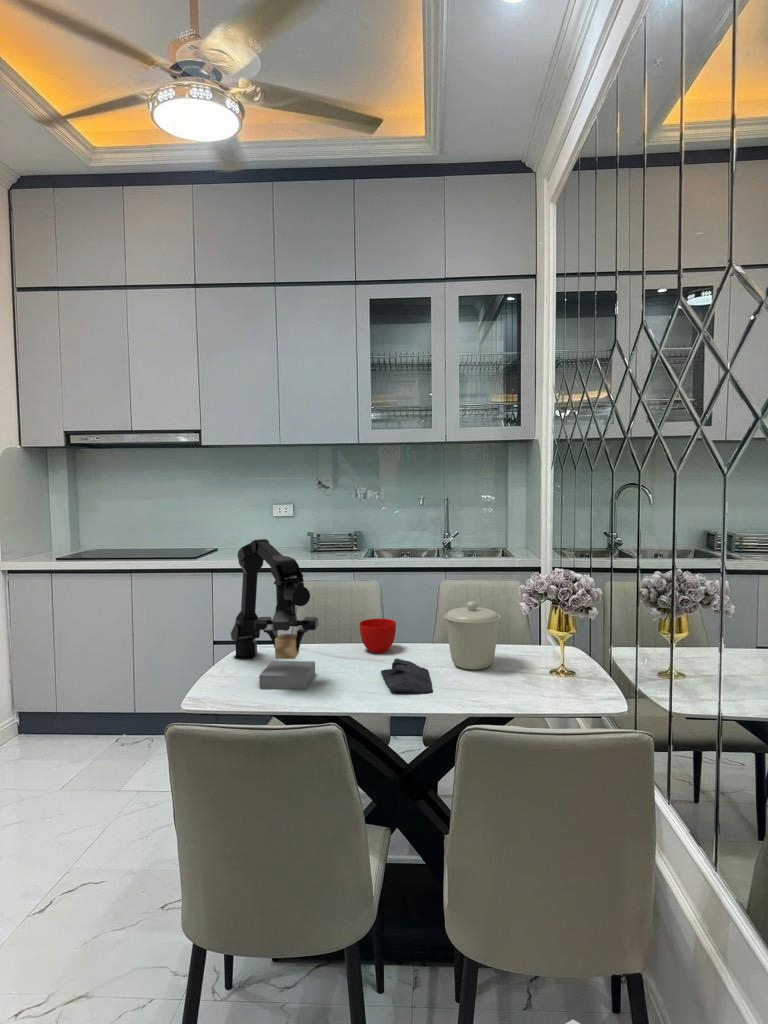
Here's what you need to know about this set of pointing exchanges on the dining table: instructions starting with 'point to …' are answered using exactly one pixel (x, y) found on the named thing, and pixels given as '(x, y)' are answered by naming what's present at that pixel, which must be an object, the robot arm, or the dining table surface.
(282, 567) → the robot arm
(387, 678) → the dark slate chunk
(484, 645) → the canister
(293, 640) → the oak block
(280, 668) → the slate pedestal
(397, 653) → the dining table surface
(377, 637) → the ceramic cup
